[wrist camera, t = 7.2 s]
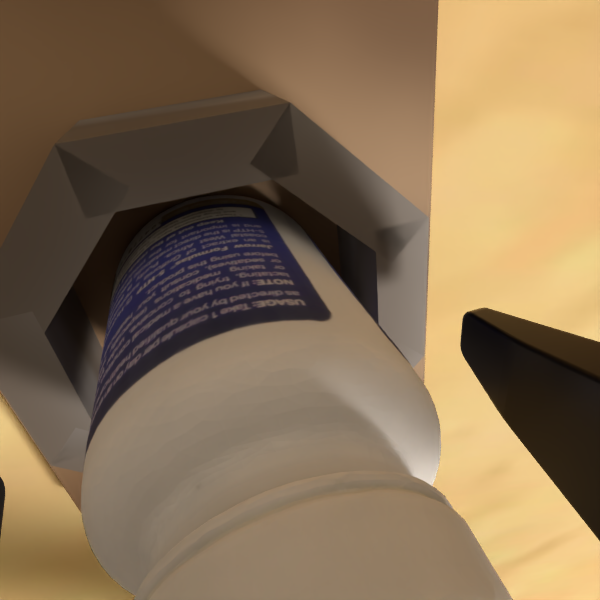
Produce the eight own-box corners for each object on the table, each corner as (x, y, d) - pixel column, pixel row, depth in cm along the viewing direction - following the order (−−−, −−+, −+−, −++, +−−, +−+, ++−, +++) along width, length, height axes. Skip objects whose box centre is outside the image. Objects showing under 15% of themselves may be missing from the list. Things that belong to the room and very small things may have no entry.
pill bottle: (83, 340, 11) (-70, 938, 4) (166, 149, 9) (195, 532, 2) (264, 389, 13) (394, 806, 6) (356, 244, 12) (684, 576, 4)
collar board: (409, 394, 17) (462, 467, 14) (89, 492, 15) (72, 601, 12) (416, -72, 10) (530, -123, 7) (-219, 0, 8) (-454, -26, 5)
